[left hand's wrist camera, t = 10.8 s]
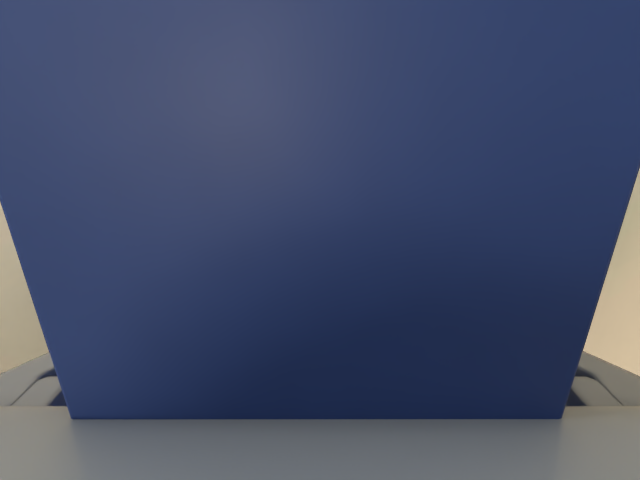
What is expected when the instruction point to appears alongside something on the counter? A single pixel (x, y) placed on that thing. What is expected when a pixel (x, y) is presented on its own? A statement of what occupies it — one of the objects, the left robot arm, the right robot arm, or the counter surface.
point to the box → (317, 200)
